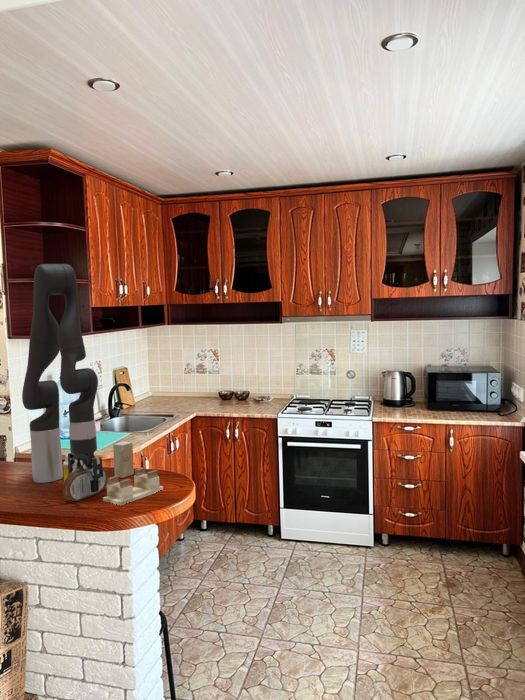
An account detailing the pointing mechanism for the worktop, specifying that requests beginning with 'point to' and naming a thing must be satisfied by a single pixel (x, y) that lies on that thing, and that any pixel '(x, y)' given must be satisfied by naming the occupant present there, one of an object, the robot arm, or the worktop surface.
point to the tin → (81, 485)
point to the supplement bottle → (66, 467)
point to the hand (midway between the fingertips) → (86, 489)
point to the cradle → (126, 492)
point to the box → (123, 459)
